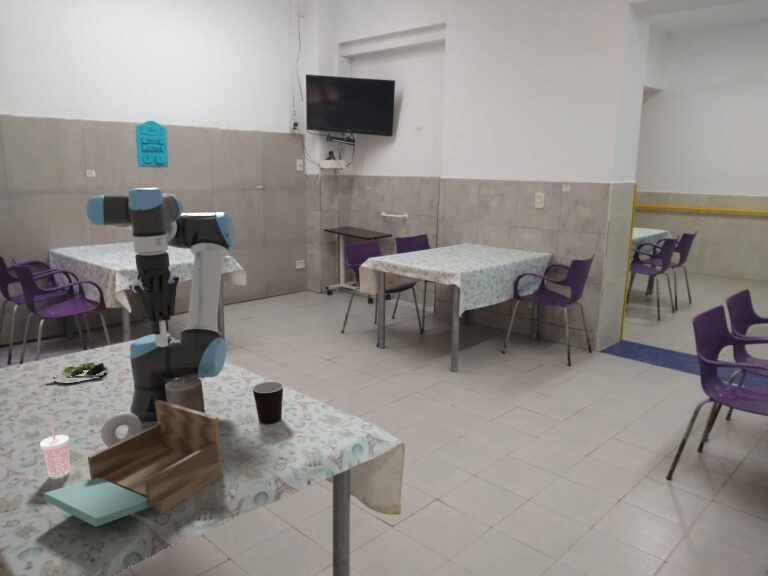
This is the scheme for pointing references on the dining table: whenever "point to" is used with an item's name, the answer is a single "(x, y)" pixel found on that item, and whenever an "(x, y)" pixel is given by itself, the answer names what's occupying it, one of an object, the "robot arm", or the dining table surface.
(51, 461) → the beverage cup
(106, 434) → the donut
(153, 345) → the robot arm
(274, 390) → the coffee mug
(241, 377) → the dining table surface
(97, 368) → the salad plate
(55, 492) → the panel
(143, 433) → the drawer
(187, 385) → the pillar candle
